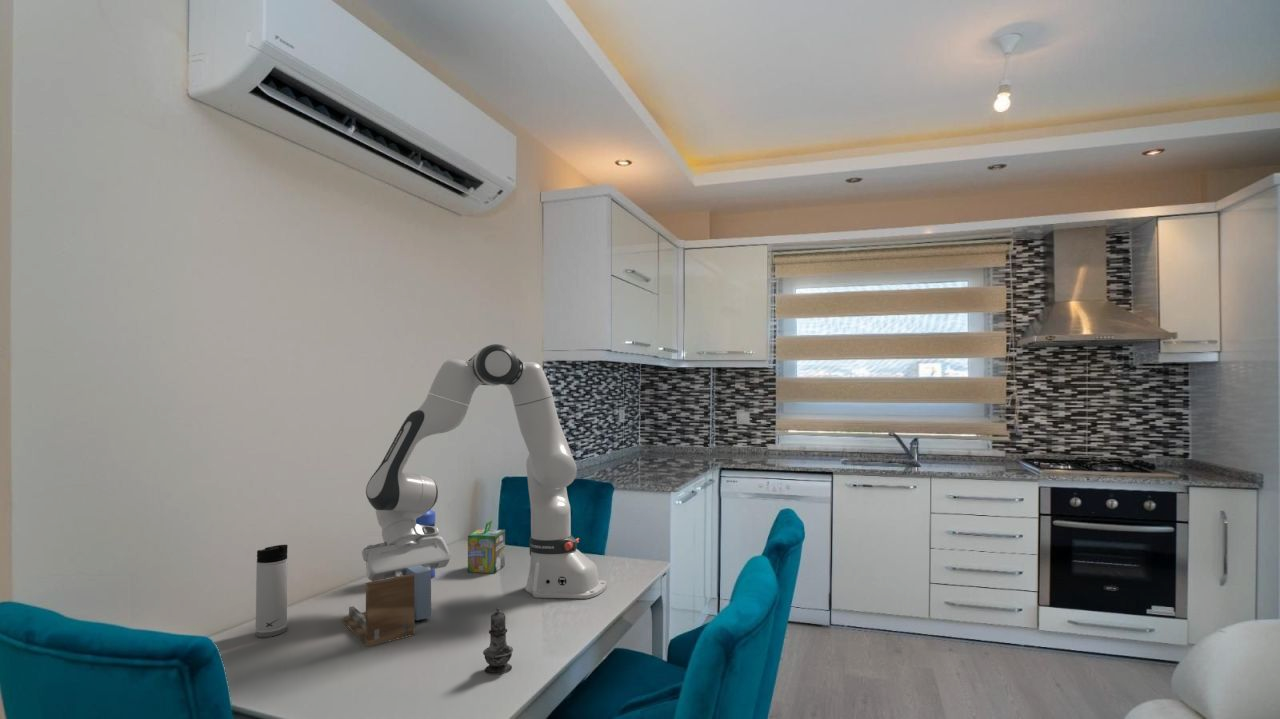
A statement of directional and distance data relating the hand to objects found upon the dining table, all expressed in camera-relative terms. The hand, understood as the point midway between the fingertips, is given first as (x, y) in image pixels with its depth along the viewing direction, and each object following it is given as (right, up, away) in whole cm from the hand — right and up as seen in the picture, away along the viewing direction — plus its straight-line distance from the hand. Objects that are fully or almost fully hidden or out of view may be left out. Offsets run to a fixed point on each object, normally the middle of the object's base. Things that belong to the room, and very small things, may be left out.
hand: (416, 586), depth 158 cm
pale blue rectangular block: (+1, -6, -1) cm, 7 cm away
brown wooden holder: (-7, -7, -8) cm, 12 cm away
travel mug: (-30, -7, -9) cm, 33 cm away
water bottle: (-11, -9, +34) cm, 37 cm away
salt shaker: (+27, -5, -31) cm, 41 cm away
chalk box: (+7, -9, +41) cm, 43 cm away
